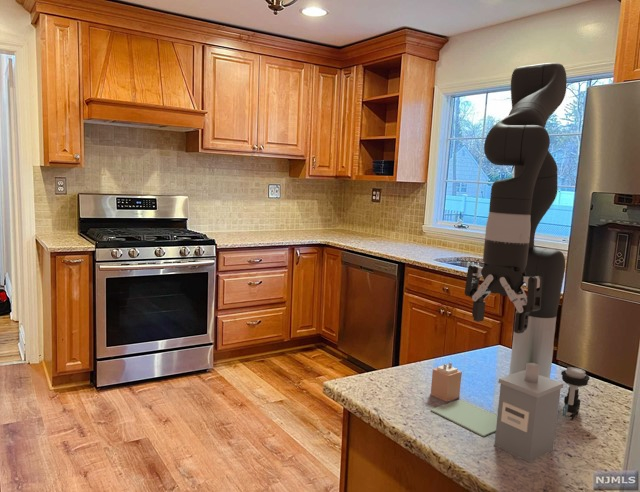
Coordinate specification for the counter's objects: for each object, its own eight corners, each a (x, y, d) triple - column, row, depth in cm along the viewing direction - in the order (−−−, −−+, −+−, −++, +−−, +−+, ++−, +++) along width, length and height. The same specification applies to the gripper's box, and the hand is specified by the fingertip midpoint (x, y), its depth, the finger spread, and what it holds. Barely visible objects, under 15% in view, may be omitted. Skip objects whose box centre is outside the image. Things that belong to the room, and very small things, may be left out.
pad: (460, 400, 115) (460, 399, 115) (513, 424, 105) (513, 422, 105) (430, 410, 109) (430, 409, 109) (483, 436, 99) (483, 435, 99)
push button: (580, 426, 106) (586, 378, 105) (552, 417, 109) (558, 372, 108) (586, 415, 111) (592, 370, 110) (559, 407, 114) (564, 363, 113)
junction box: (518, 433, 101) (526, 354, 99) (555, 450, 95) (565, 367, 93) (491, 445, 96) (500, 362, 94) (529, 464, 90) (539, 376, 88)
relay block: (443, 390, 120) (446, 358, 119) (459, 397, 117) (462, 365, 116) (430, 394, 118) (433, 362, 117) (446, 401, 114) (449, 368, 113)
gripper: (555, 243, 90) (545, 334, 92) (485, 234, 101) (477, 315, 103) (531, 244, 85) (521, 340, 87) (461, 234, 97) (453, 319, 99)
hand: (497, 326), depth 95 cm, fingers open, 8 cm apart
